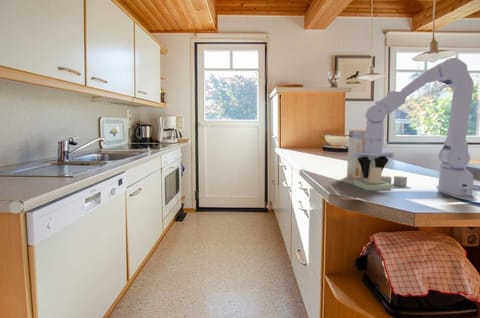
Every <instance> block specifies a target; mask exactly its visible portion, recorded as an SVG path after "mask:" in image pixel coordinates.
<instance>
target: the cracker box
mask: <svg viewBox="0 0 480 318" xmlns="http://www.w3.org/2000/svg"><path fill="white" fill-rule="evenodd" d="M348 132H349V133H348V147H347V148H348V152H347V168H346V169H347V170H346V178H348V179H349V180H352V181H353V179H365V178H364V177H363V172H362V168H361V165H360V163H359V161H358V158H352V152H365V135H366V128H364V129H357V128H354V129H349V131H348ZM369 156H377V155H369ZM368 159H369V160H371V162H370V166H375V159H374V158H368Z"/></svg>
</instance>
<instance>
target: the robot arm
mask: <svg viewBox="0 0 480 318" xmlns="http://www.w3.org/2000/svg"><path fill="white" fill-rule="evenodd" d="M436 81H438V82H440V83H442V84H444V85H446V86H448V87H449V88H450V89H451V90H452V91H453V92H452V98H451V99H452V100H451V106H450V113H449V119H448V128H447V134H446V138H445V141H444V142H443V146H442V149H440V151H439V153H438V158H439V161H440V162H441V163H440V165H439V173H438V174H439V175H438V187H437V191H439V192H440V193H444V194H450V195H452V196H473V189H474V175H473V173H472V172H471V171H469V170H468V169H467V165H468V164H469V163H470V162H471V161H470V160H471V156H470V153H469V144H468V142H467V139H466V138H467V131H468V127H469V119H470V113H471V112H470V111H471V107H472V98H473V93H474V86H475V84H474V80H473V79H472V77H471V74H470V72H469V70H468V65H467V64H466V63H465V62H464V61H463V60H462V59H460V58H457V57H450V58H448V59H445V60H444V61H443V62H440V63H437V64H436V65H434V66H433V67H431V68H429V69H427V70H425V71H423V72H422V73H421V74H420V75H418V76H417V77H416V78H414V79H413V80H412V81H411V82H409V83H408V84H407V85H405V86H404V87H402V88H401V89H400V90H399V89H394V90H392V91H391V90H389V91H388V92H386V95H385V96H384V97H382V98H381V99H379V100H376V101H375V102H374V104H373V105H372V106H370V107H368V108H367V110H366V111H365V115H364V116H365V118H366V126H365V130H366V135H365V152H352V158H358V161H359V163H360V165H361V168H362V172H363V177H364V178H368V175H369V166H370V162H371V160H369V159H368V158H374V159H375V166H377V167H381V168H382V172H383V170H384V168H385V166H386V165H387V164H388V162H389V158H392V159H394V157H395V152H394V151H383V144H384V143H383V142H384V120H385V119H386V116H388V115H390V114H392V113H393V112H394V111H396V110H397V109H399V108H400V107H402V106H403V105H404V104H405V103H406V99H407V97H409V96H410V95H412V94H413V93H415V92H417V90H420V89H421V88H422V87H424V86H426V84H428V83H433V82H436ZM369 155H376V156H369Z"/></svg>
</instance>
